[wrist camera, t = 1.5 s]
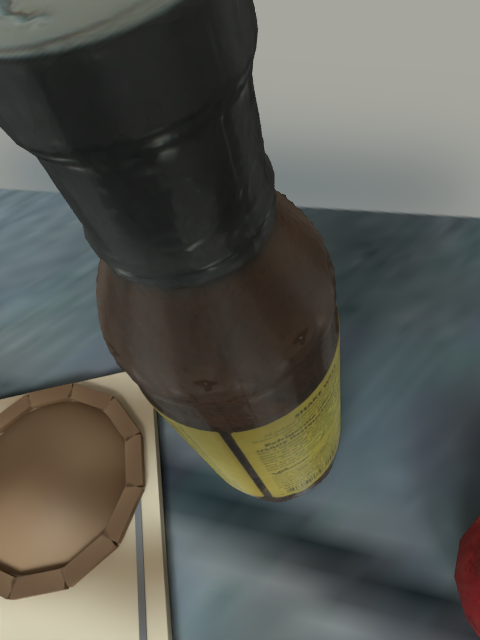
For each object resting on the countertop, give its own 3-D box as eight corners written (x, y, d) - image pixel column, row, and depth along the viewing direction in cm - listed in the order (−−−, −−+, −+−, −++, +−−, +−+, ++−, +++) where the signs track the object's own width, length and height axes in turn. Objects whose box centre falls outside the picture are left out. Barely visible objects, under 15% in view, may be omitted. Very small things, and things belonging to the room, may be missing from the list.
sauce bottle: (338, 380, 23) (372, -185, 7) (340, 511, 20) (413, 73, 3) (215, 377, 25) (-25, -109, 8) (198, 501, 21) (-267, 136, 5)
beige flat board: (183, 800, 16) (175, 812, 15) (-96, 849, 17) (-118, 862, 16) (153, 370, 25) (148, 362, 24) (-26, 410, 26) (-38, 404, 25)
